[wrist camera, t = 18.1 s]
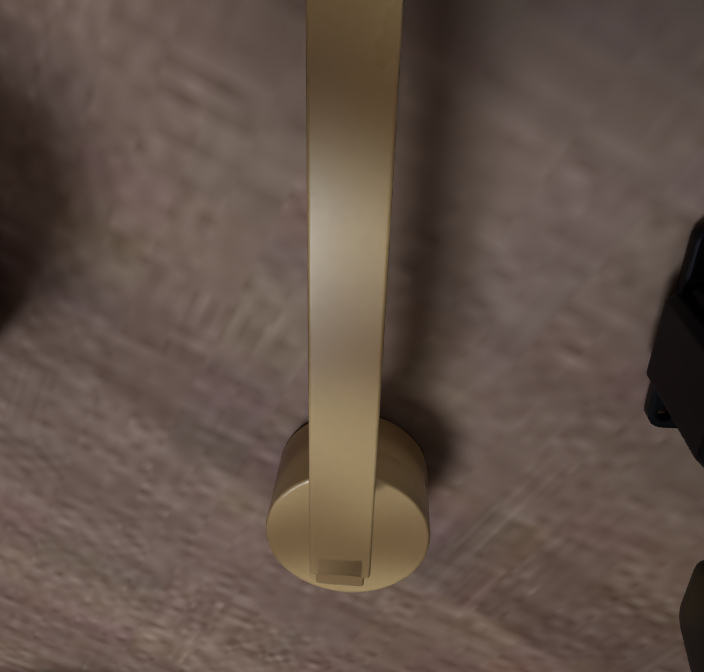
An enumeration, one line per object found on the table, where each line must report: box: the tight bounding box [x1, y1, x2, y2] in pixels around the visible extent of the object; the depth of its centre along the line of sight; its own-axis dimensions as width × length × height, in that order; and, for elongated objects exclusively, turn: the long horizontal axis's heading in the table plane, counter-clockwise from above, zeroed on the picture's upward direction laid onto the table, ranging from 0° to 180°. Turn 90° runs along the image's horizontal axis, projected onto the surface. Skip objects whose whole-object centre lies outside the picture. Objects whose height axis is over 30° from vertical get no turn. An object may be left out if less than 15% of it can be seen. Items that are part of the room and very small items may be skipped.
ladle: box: [266, 0, 430, 592], centre depth 17 cm, size 18×5×6 cm, turn 178°
